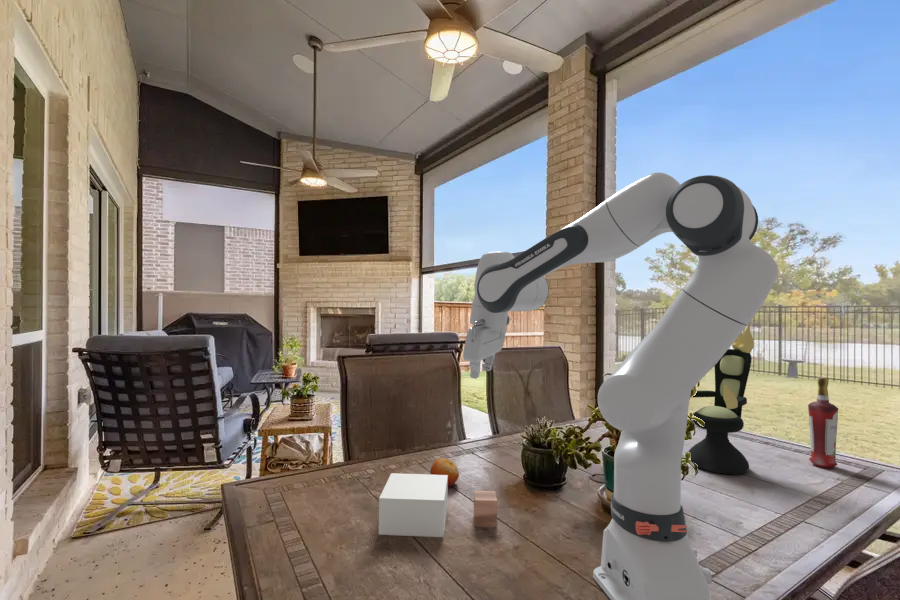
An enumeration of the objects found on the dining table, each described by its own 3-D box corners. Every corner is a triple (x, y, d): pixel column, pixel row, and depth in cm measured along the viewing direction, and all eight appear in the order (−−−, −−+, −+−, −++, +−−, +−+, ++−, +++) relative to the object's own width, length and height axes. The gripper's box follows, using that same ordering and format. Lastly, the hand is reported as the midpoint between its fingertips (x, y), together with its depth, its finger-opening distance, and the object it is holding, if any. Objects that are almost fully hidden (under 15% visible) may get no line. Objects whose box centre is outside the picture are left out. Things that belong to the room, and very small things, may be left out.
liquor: (813, 460, 143) (813, 375, 144) (842, 467, 137) (842, 378, 138) (804, 464, 140) (804, 377, 140) (833, 471, 133) (833, 380, 134)
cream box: (443, 538, 92) (444, 500, 92) (378, 535, 93) (379, 498, 93) (447, 507, 106) (447, 475, 106) (390, 505, 107) (391, 473, 107)
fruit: (427, 472, 125) (442, 449, 124) (450, 488, 123) (465, 465, 122) (420, 483, 117) (435, 459, 116) (444, 501, 115) (460, 476, 115)
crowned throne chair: (669, 459, 142) (670, 322, 143) (713, 451, 151) (714, 322, 152) (727, 480, 125) (727, 324, 126) (773, 469, 134) (773, 324, 135)
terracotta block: (496, 527, 97) (497, 500, 97) (474, 527, 97) (474, 500, 97) (495, 516, 102) (495, 491, 102) (473, 516, 102) (474, 490, 102)
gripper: (487, 324, 94) (479, 385, 95) (511, 317, 113) (504, 369, 114) (460, 319, 97) (453, 379, 98) (488, 313, 115) (482, 364, 117)
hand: (480, 374), depth 106 cm, fingers open, 8 cm apart
